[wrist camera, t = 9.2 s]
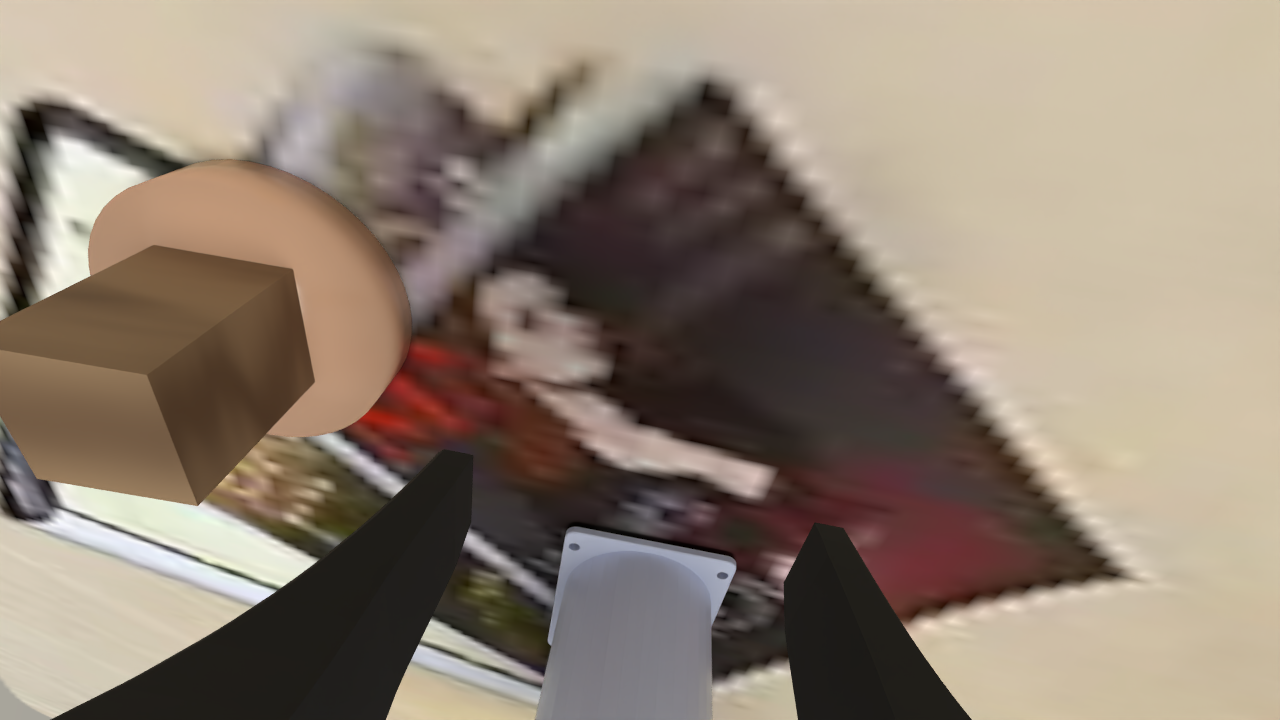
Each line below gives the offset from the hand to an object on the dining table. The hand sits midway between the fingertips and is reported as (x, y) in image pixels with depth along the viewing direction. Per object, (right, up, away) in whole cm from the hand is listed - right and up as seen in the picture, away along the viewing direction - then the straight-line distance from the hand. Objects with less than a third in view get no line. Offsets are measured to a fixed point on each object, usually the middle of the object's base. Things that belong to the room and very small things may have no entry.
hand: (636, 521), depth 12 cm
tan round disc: (-13, +6, +10) cm, 18 cm away
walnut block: (-14, +5, +8) cm, 16 cm away
